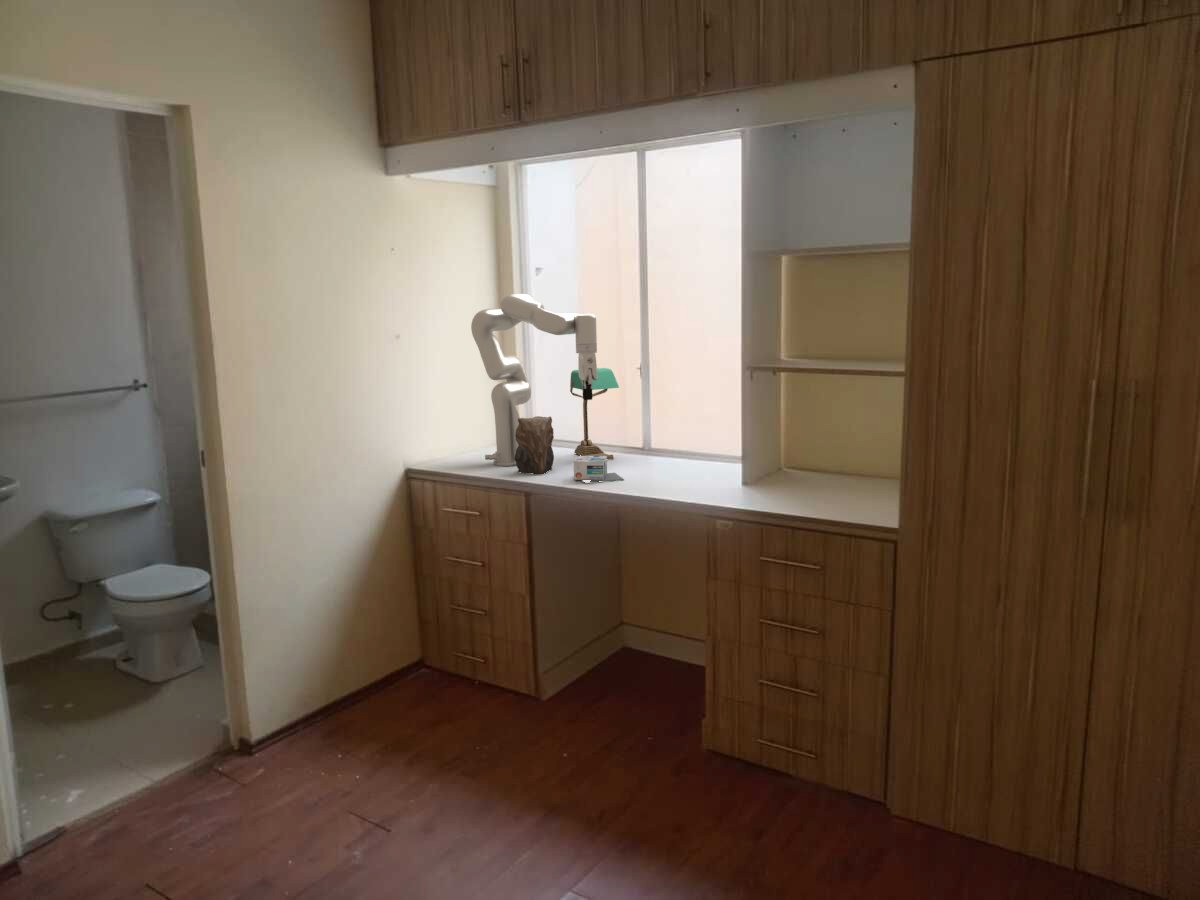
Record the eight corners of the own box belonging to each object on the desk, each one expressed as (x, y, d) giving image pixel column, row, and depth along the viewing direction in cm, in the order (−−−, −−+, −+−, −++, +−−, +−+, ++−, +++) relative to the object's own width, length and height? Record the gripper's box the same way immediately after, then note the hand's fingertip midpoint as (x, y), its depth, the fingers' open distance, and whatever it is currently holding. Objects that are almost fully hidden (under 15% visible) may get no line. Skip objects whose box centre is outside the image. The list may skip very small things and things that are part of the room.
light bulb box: (607, 455, 310) (603, 460, 299) (607, 474, 311) (604, 480, 300) (577, 455, 311) (573, 461, 300) (578, 474, 312) (573, 480, 301)
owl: (513, 472, 320) (510, 419, 317) (532, 466, 331) (530, 414, 327) (542, 475, 314) (539, 420, 310) (560, 468, 325) (558, 415, 321)
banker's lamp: (601, 450, 358) (598, 366, 352) (623, 458, 340) (620, 369, 333) (566, 454, 352) (562, 368, 346) (586, 463, 333) (583, 372, 327)
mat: (584, 483, 298) (584, 482, 297) (576, 476, 309) (576, 475, 309) (623, 480, 301) (623, 479, 301) (614, 473, 312) (614, 472, 312)
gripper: (601, 349, 304) (602, 401, 307) (591, 347, 318) (592, 396, 322) (580, 350, 302) (582, 402, 306) (571, 347, 317) (573, 397, 320)
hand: (587, 399), depth 314 cm, fingers closed
